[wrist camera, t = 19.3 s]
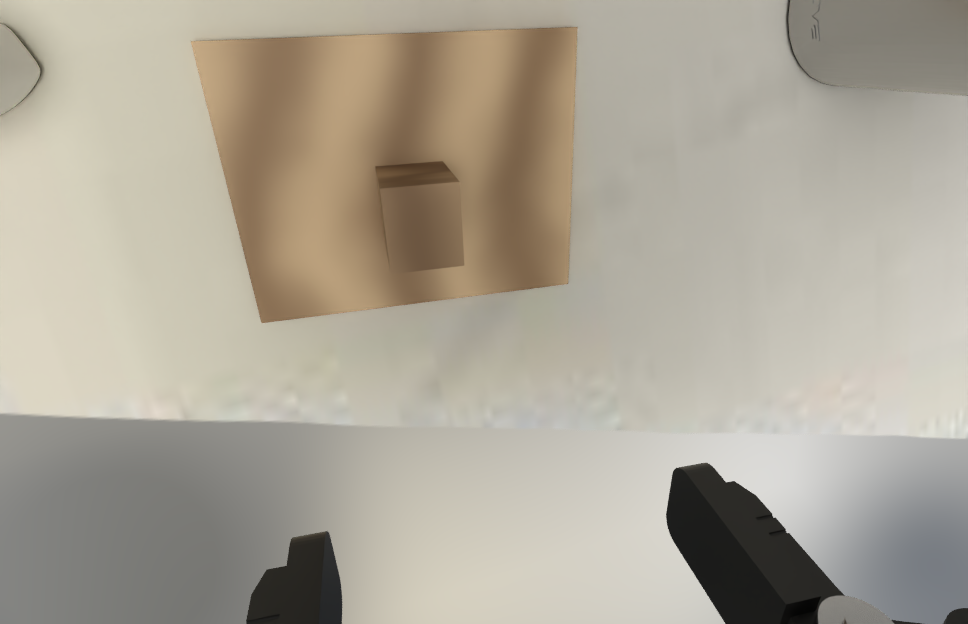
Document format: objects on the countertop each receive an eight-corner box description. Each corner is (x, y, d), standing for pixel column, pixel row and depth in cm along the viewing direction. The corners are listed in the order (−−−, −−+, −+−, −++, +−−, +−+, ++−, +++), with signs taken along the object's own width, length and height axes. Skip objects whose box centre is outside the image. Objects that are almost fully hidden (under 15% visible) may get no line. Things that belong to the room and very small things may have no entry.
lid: (568, 27, 28) (621, 22, 22) (561, 276, 34) (601, 319, 29) (197, 41, 25) (154, 39, 19) (264, 313, 31) (246, 370, 26)
